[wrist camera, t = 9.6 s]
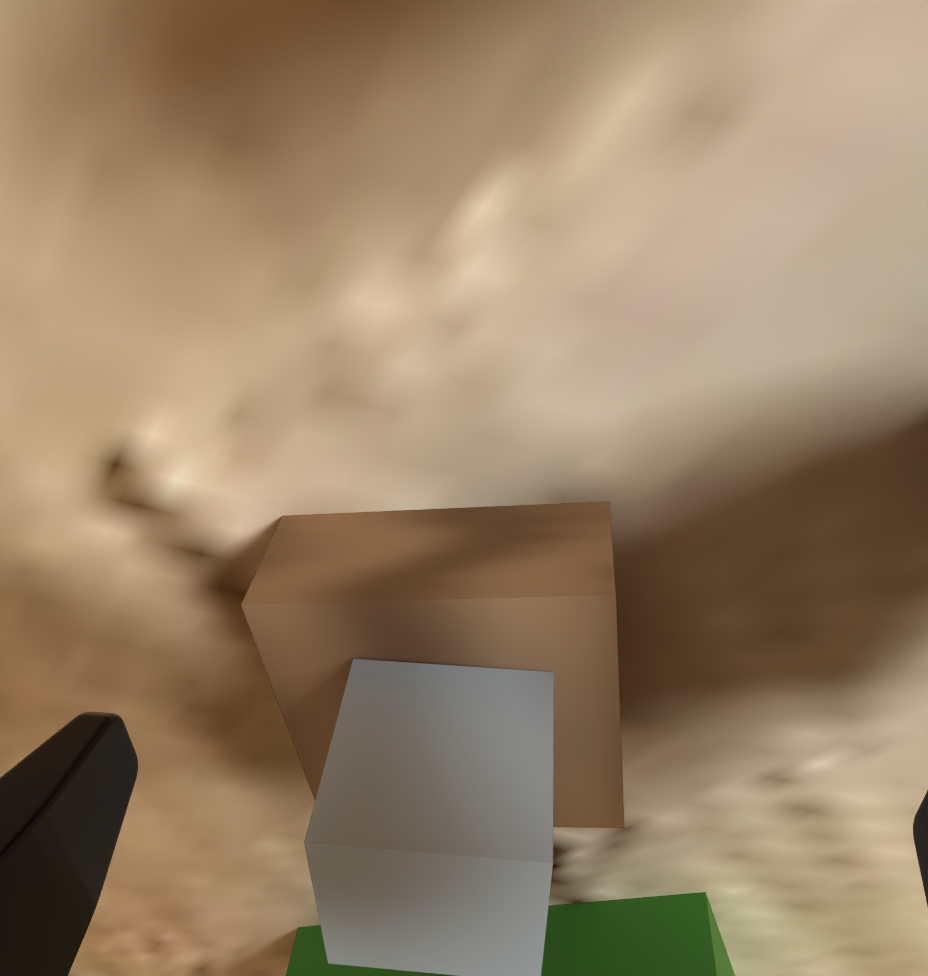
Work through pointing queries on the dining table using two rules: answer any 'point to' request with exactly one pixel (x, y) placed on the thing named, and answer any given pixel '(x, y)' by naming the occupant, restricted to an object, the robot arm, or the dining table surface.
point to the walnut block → (451, 622)
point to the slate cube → (436, 820)
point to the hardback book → (588, 941)
